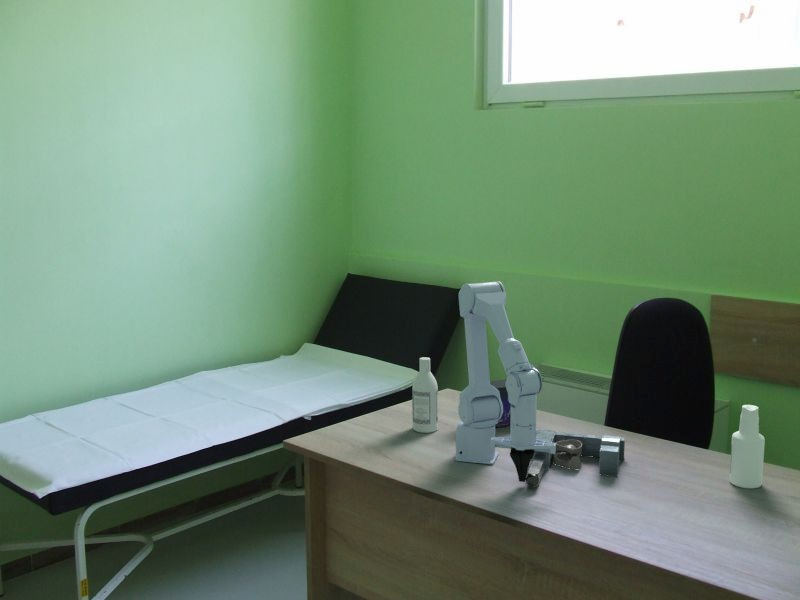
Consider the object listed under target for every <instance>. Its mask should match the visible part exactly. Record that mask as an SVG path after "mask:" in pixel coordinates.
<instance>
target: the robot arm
mask: <svg viewBox="0 0 800 600" xmlns="http://www.w3.org/2000/svg"><path fill="white" fill-rule="evenodd" d="M506 304H507V293H506V289H505V286H504V284H503V283H502V282H501V281H499V280H495V281H489V282H476V283H464V284H463V285H462V286H461V287H460V290H459V292H458V305H459V315H460V317H462V318H463V320H464V332H465V347H466V357H467V359H466V361H467V370H468V385H467V386H466V387H465V388H464V389H463V390H462V391H461V392H460V393H459V400H458V401H459V403H458V409H457V411H458V415H459V419H460V420H461V421H459V422H458V423H457V426H456V433H455V461H457V462H464V463H465V462H466V463H474V464H475V463H476V464H484V465H494V464H495V462H496V460H497V458H498V457H499V454H500V451H496V448H499V449H510V452H509V456H510V458H511V460H512V462H513V464H514V467H515V469H516V473H517V478H518V482H520V483H522V482H523V483H526V477H527V476H528V471H529V468H530V464H531V462H532V457H533V455H534V453H535V451H540V452H550V453H551V454H555V452H556V443H552V442H547V441H542V440H538V439H536V430H537V405H538V404H537V402H538V399H537V396H538V395H539V394H540V393H541V392H542V389H543V379H542V375H541V372H540V371H539V370H538V369H537V368H535V366H534V364H531V363H530V361H529V359H528V356H527V353H526V352H525V349H524V347H523V344H522V342H521V341H519V340H517V339H515V337H514V334H513V330H512V327H511V324H510V321H509V317H508V315H507V311H506V309H505V307H506ZM486 320H487V322H488V324H489V326H490V329H491V330H492V332H493V334H494V336H495V338H496V339H497V341H498V344H499V346H498V348H497V354H498V356H499V359H500V362H501V364H502V367H503V369H504V372H505V375H506V379H507V380H506V379H505V380H506V389H507V392H508V400H509V403H511V421H510V426H509V428H510V429H509V432H510V434H509V436H503V437H501V436H500V437H499V436H496V428H495V424H498V420H499V419H500V418H501V417H502V414H503V405H502V402H501V399H500V393H499V390H497V389H496V388H495V387H493V386H492V385H491V384H490V381H491V376H490V375H491V374H490V364H489V363H490V362H489V353H488V350H489V349H488V336H487V324H486ZM481 396H484V397H481ZM475 397H477V398H475Z"/></svg>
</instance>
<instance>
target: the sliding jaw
mask: <svg viewBox="0 0 800 600" xmlns="http://www.w3.org/2000/svg"><path fill="white" fill-rule="evenodd" d="M537 430H538V432H537V434H536V439H538V440H542V441H547V442H552V443H555V432H556V430H554V429H552V430H550V429H541V428H539V429H537ZM530 464H531V465H529V468H528V470H527V475H526V480H525V484H526V485H527V487H530V488H536V487H539V484H540V482H541V479H542V477H543V474H544V472H545V470H549V469H550V467H551V464H552V454H551V453H550V452H540V451H535V453H534V455H533V457H532V459H531V463H530Z"/></svg>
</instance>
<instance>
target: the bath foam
mask: <svg viewBox="0 0 800 600" xmlns="http://www.w3.org/2000/svg"><path fill="white" fill-rule="evenodd" d="M418 362H419V372H418V373H417V375H416V376H415V378H414V380H413V382H412V389H411V390H412V392H411V393H412V398H411V399H412V400H411V401H412V402H411V403H412V410H411V411H412V430H413V431H414V432H418V433H421V434H430V433H434V432H436V431H437V430H438V428H439V388H438V382H437V380H436V378H435V376H434V374H433V373H432V372H431V358H430V357H425V356H422V357H419V361H418Z"/></svg>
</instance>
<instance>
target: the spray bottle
mask: <svg viewBox="0 0 800 600" xmlns="http://www.w3.org/2000/svg"><path fill="white" fill-rule="evenodd" d="M759 416H760V415H759V406H757V405H755V404H754V405H752V404H743V405H742V406H741V413H740V417H739V418H740V419H739V428H738V431H737V430H736V431H735V432H733V433H732V434H731V444H730V445H731V447H730V449H731V450H730V460H729V461H730V463H729V464H730V465H729V482H730V483H731V485H733V486H736V487H739V488H741V489H758V488H760V487H762V483H763V472H764V457H765V446H766V445H765V444H766V443H765V442H766V439H765V436H764V435H762V433H760V417H759Z"/></svg>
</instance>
